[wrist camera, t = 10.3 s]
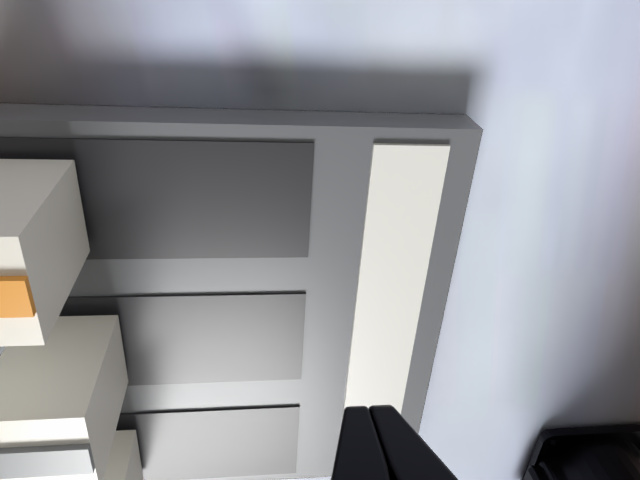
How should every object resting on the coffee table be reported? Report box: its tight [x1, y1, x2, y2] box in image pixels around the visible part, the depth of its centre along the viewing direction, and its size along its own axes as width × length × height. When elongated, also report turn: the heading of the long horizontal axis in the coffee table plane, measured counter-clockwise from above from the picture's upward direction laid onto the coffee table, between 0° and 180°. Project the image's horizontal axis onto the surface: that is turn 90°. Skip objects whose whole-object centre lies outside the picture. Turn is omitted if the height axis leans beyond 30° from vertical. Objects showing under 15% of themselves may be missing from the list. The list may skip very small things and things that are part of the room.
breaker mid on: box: [0, 315, 128, 480], centre depth 17 cm, size 3×3×5 cm
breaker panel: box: [0, 103, 483, 480], centre depth 20 cm, size 20×16×2 cm
